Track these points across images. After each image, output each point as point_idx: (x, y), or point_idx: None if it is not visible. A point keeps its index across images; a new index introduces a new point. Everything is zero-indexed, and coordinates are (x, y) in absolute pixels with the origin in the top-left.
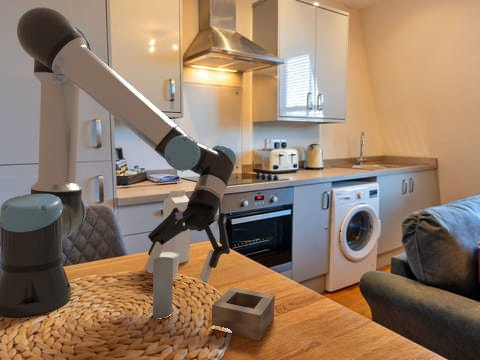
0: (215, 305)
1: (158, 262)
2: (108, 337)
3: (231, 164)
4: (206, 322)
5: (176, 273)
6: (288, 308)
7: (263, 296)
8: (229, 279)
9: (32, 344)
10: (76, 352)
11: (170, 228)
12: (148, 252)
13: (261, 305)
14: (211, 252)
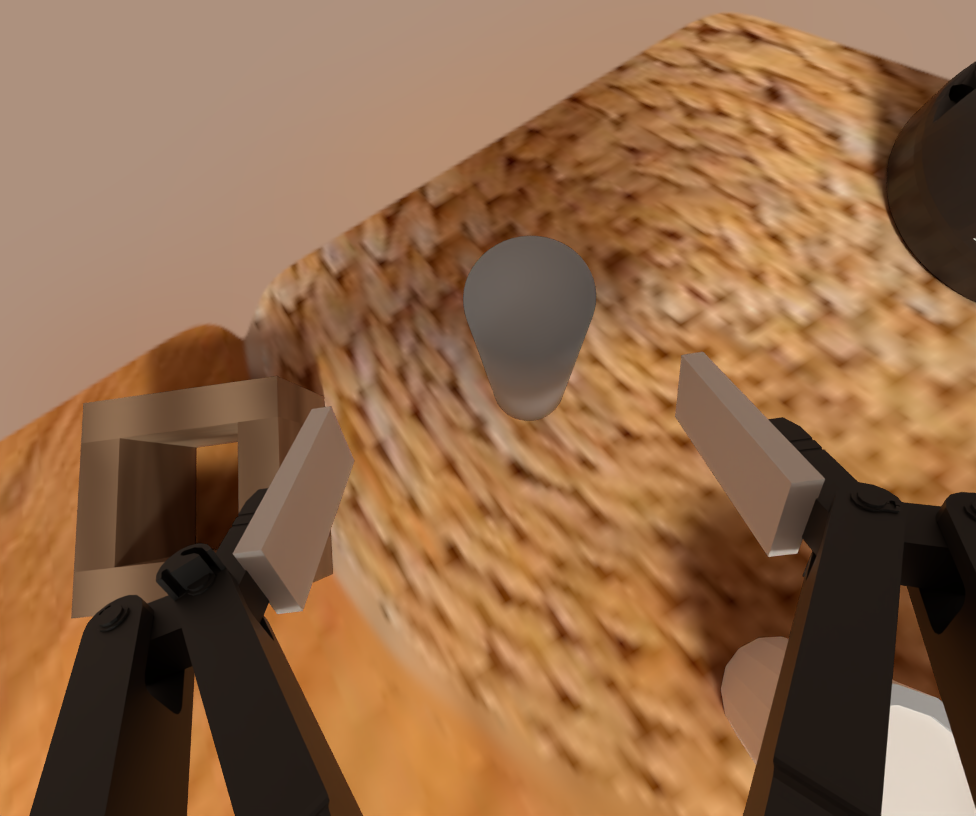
0: (263, 379)
1: (521, 242)
2: (568, 192)
3: None
4: (361, 427)
5: (742, 736)
6: None
7: (114, 575)
8: None
9: (715, 62)
10: (578, 104)
11: (859, 672)
12: (796, 425)
13: (100, 483)
14: (247, 534)
